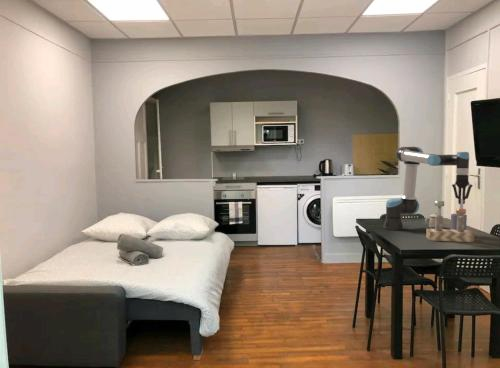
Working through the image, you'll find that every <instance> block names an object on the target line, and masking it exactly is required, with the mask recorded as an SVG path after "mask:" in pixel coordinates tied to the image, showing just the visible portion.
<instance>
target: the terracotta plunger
mask: <svg viewBox="0 0 500 368" xmlns="http://www.w3.org/2000/svg"><path fill="white" fill-rule="evenodd" d="M455 214H459V217H463V214H465V215H467V208H463V209H460V208H456V209H455Z"/></svg>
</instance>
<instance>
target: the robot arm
mask: <svg viewBox="0 0 500 368" xmlns="http://www.w3.org/2000/svg"><path fill="white" fill-rule="evenodd" d="M394 156H395V158H396V160H397V161H398V162H401V163H402V162H403V163H404V165H405V171H404V172H405V173H404V181H403V182H404V185H403V195H401V196H400V198H390V199H388V200H387V201H386V202H385V203H386V204H385V210H386V211H385V221H384V222H383V229H385V230H392V231H401V230H404V229H405V227H404V223H403V220H402V218H403V217H402V216H403V215H415V214H417V212H418V211H419V208H420V203H419V201H418V200H417V199H418V198H417V197H416V186H417V184H416V183H417V177H418V176H417V174H418V167H419V166H420V164H426V165H429V166H433V167H436V166H440V167H441V166H456V177H455V182H454V183H453V184H451V186H452V188H453V193H454V197H455V198H456V199H457V201H458V204H459V209H464V205H465V203H466V200H467V199H469V196H470V192H471V189H472V188H473V186H474V185H473V184H471V183H470V181H469V174H470V173H469V172H470V171H469V169H470V167H469V166H470V153H469V152H468V151H458V152H456V154H435V153H428V152H424V151H423V150H422V148H421V147H418V146H401V147H399V148H397V149H396V151H395V155H394ZM456 187H458V189H457V188H456ZM466 188H467V190H466ZM457 190H458V191H457Z"/></svg>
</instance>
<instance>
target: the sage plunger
mask: <svg viewBox="0 0 500 368" xmlns="http://www.w3.org/2000/svg"><path fill="white" fill-rule="evenodd" d="M434 206H435V207H437V214H438V217H441V216H442V207H445V201H444V200H435V201H434Z"/></svg>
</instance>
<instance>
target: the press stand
mask: <svg viewBox="0 0 500 368" xmlns="http://www.w3.org/2000/svg"><path fill="white" fill-rule="evenodd" d="M443 224H444V216H443V215H441V217H438V216H436V217H435V228H426V229H425V230H426V231H425V232H426V233H425V234H426V235H425V236H426V239H428V241H433V242H434V241H438V242H440V241H441V242H461V243H462V242H463V243H464V242H465V243H466V242H467V243H474V241H475V233H474V232H473V231H471V230H469V229H466V230H464V229H465V217H459V216H457V230H451V228H450V229H448V228H447V229H444V228H443V227H444V226H443Z"/></svg>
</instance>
